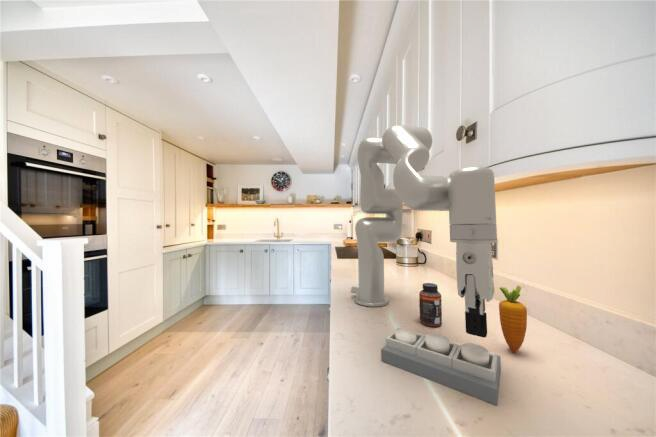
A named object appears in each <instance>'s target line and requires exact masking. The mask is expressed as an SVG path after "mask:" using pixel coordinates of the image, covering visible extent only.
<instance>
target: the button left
mask: <svg viewBox="0 0 656 437" xmlns="http://www.w3.org/2000/svg"><path fill="white" fill-rule="evenodd" d="M414 332H415V331H413V330H410V329H404V328H400V330H397V331H396V332H395V338H396V340H398V341H401V342H405V343H408V344H411V345H414V344H415V343H416V342H417V340H416V333H417V332H416V333H414Z"/></svg>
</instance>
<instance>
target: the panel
mask: <svg viewBox="0 0 656 437" xmlns="http://www.w3.org/2000/svg"><path fill="white" fill-rule="evenodd" d="M400 329H401V328H399V327H396V328H395V329H394V331H392V332H391V333H390V334H389V335H387V337H386V338H385V345H383V347H382V348H381V350H380V351H381V353H380V358H381V362H384V363H386V364H389V365H391V366H393V367H396V368H399V369H401V370H404V371H407V372H409V373H412V374H414V375H417V376H419V377H422V378H425V379H428V380H430V381H433V382H435V383H437V384H440V385H443V386H446V387H447V388H451V389H454V390H455V391H458V392H461V393H463V394H466V395H469V396H472V397H473V398H477V399H478V400H482V401H484V402H487V403H490V404H492V405H495V406H498V399H499V390H500V380H501V379H500V378H501V372H502V371H501V368H502V367H501V355H498V354H494V353H492V352H489V366H487V367H482V366H478V365H475V364H472V363H469V362H466V361H464V360H463V359H462V358H461V345H462V344H459V343H456V342H452V341H449V345H450V352H449V353H448V354H445V355H443V354H440V353H437V352H433V351H430V350H427V349H426V335H427V334H423V333H419V332H416V331H413V332H414V333H416V340H417V342H416V343H415V344H414V345H411V344H408V343H405V342H401V341H398V340H396V338H395V332H396V331H397V330H400Z"/></svg>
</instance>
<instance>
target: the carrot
mask: <svg viewBox="0 0 656 437" xmlns="http://www.w3.org/2000/svg"><path fill="white" fill-rule="evenodd" d="M521 289H522V287H521V286H520V285H516V287H515V288H513V289H512V291H510V292H509V290H508V288H507V287H505V286H504V287H503V286H500V287H499V290H500V291H501V293H502V294H503V296H504V297H505V300H501V301H499V303H498V309H499V310H498V311H499V312H498V314H499V323H500V326H501V331H502V334H503V339H504V340H505V342H506V344H507V347H508V348H509V350H510V351H511V353H513V354H515V353H517V352H518V351H519V350H520V348H521V347H522V345H523V343H524V341H525V337H526V333H527V332H526V331H527V327H528V326H527V324H528V310H527V307H526V305H524V303H522V302H521V301H518V299H519V297H520V296H521V294H520V292H521Z"/></svg>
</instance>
